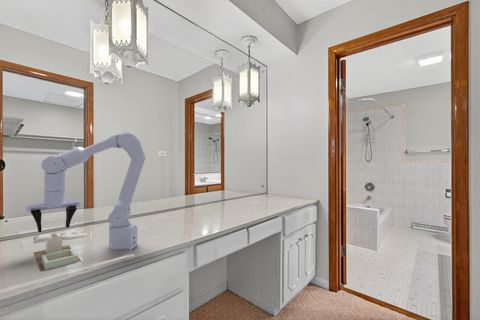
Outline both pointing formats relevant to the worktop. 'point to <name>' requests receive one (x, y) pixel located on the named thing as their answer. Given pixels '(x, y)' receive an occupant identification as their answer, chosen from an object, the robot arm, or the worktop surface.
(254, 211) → the worktop surface
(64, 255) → the holder
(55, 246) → the plug
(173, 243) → the worktop surface
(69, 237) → the gun
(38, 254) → the board
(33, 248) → the worktop surface
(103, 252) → the worktop surface
